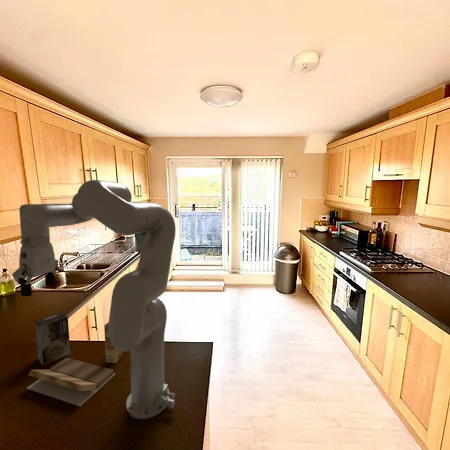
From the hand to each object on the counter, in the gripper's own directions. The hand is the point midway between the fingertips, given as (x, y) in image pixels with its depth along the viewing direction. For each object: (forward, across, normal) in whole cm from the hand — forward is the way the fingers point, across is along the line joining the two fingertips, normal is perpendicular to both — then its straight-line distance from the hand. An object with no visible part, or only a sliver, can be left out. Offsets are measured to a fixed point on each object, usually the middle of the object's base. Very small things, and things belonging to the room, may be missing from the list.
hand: (39, 290), depth 82 cm
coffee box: (+30, +7, +2) cm, 31 cm away
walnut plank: (+28, -1, -15) cm, 32 cm away
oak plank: (+26, -8, -13) cm, 31 cm away
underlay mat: (+30, -5, -14) cm, 33 cm away
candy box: (+30, +9, -22) cm, 38 cm away
